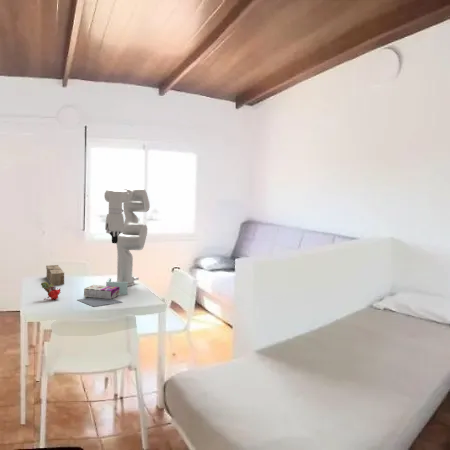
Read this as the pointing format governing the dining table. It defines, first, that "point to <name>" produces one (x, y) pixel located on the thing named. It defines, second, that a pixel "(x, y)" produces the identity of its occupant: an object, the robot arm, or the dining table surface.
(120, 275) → the robot arm
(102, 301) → the mat
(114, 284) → the right angle wall
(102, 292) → the candy bar box
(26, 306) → the dining table surface
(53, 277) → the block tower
